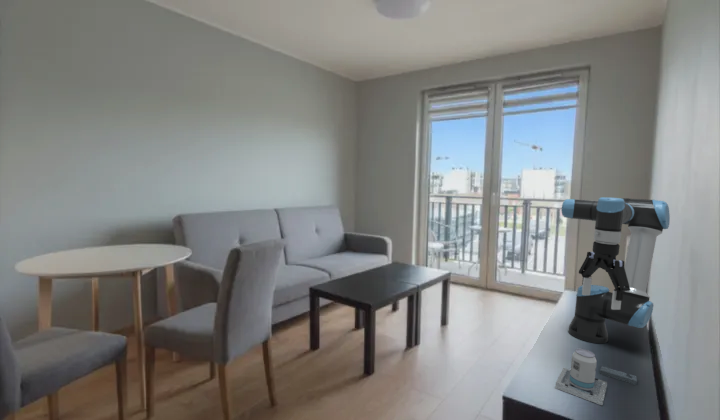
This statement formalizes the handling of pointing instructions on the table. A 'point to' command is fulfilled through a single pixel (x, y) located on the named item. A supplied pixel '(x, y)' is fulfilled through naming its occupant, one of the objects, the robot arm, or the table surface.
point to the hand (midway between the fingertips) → (599, 301)
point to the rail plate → (591, 395)
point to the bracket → (618, 375)
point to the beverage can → (583, 369)
